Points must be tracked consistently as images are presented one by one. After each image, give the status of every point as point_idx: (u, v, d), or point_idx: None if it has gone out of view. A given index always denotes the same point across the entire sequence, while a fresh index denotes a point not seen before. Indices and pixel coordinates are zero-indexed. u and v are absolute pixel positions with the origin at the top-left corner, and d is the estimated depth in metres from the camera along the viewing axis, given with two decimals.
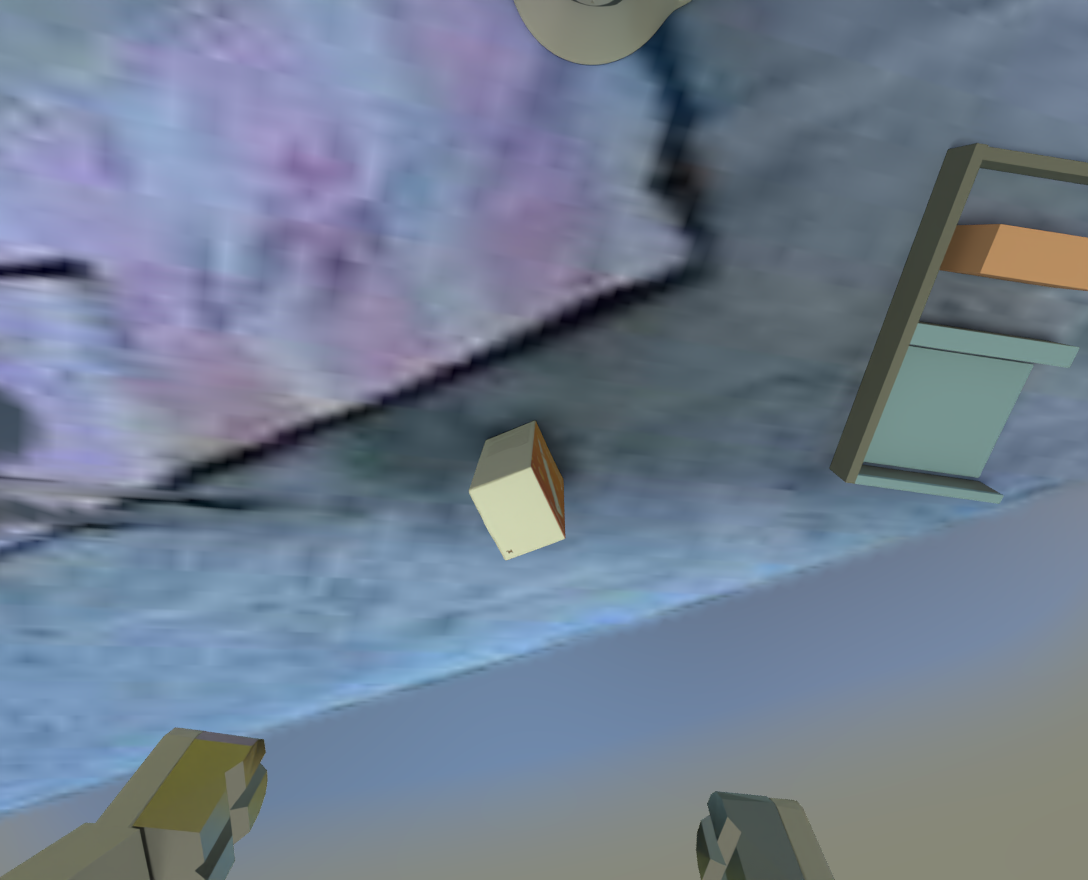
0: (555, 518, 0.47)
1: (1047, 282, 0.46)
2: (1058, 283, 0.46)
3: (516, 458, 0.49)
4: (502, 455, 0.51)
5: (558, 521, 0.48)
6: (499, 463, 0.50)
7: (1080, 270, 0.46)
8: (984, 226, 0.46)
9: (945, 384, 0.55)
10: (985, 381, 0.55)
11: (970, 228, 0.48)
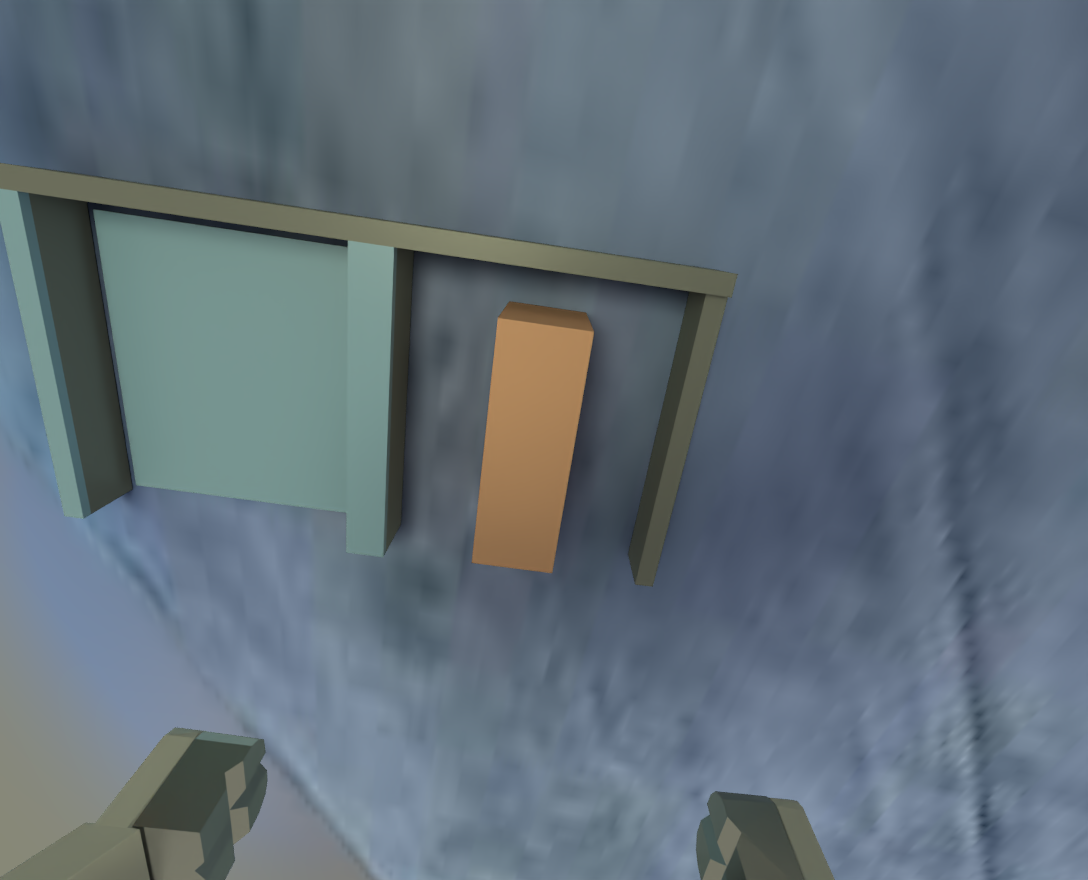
0: None
1: (485, 454, 0.24)
2: (484, 473, 0.24)
3: None
4: None
5: None
6: None
7: (509, 502, 0.25)
8: (587, 325, 0.23)
9: (298, 376, 0.28)
10: (316, 445, 0.30)
11: (582, 319, 0.25)
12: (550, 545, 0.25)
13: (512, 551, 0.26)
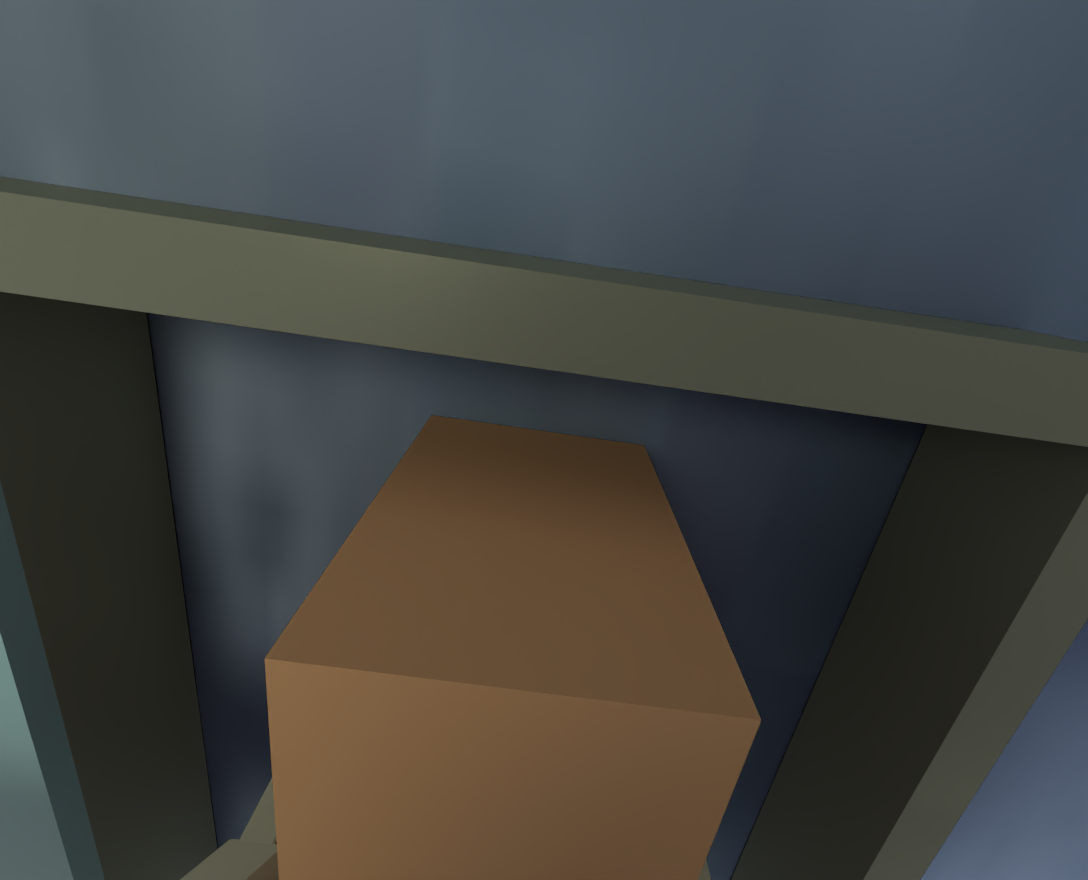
0: None
1: None
2: None
3: None
4: None
5: None
6: None
7: None
8: (690, 586, 0.06)
9: None
10: None
11: (653, 514, 0.07)
12: None
13: None
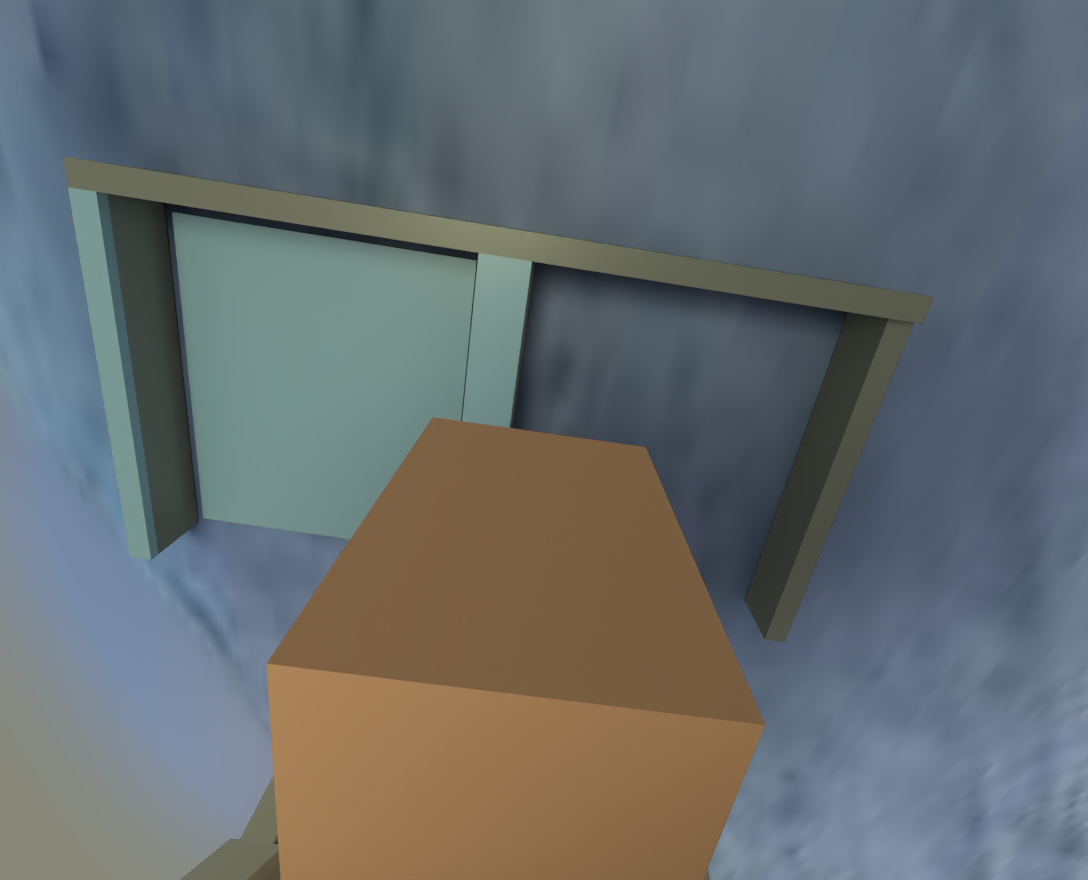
0: None
1: None
2: None
3: None
4: None
5: None
6: None
7: None
8: (692, 589, 0.06)
9: (392, 402, 0.25)
10: None
11: (655, 517, 0.07)
12: None
13: None
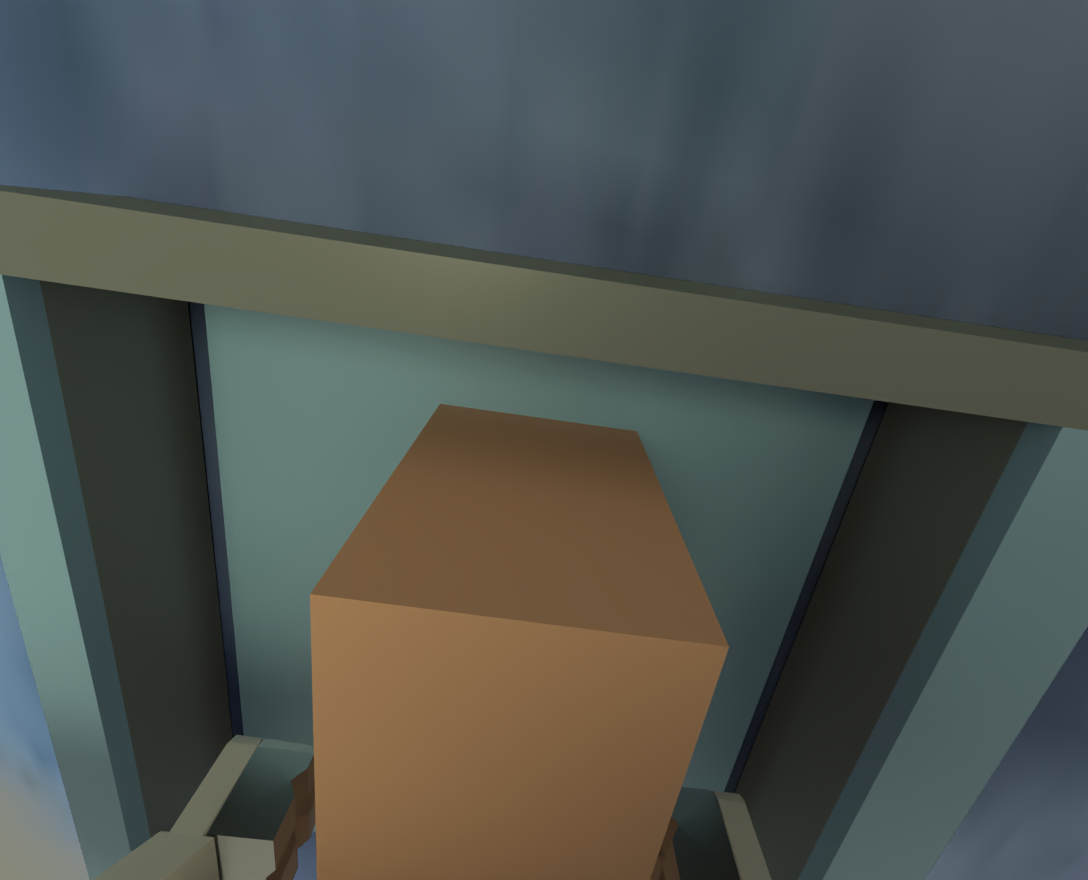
0: None
1: None
2: None
3: None
4: None
5: None
6: None
7: None
8: (674, 547, 0.07)
9: None
10: None
11: (643, 489, 0.08)
12: None
13: None
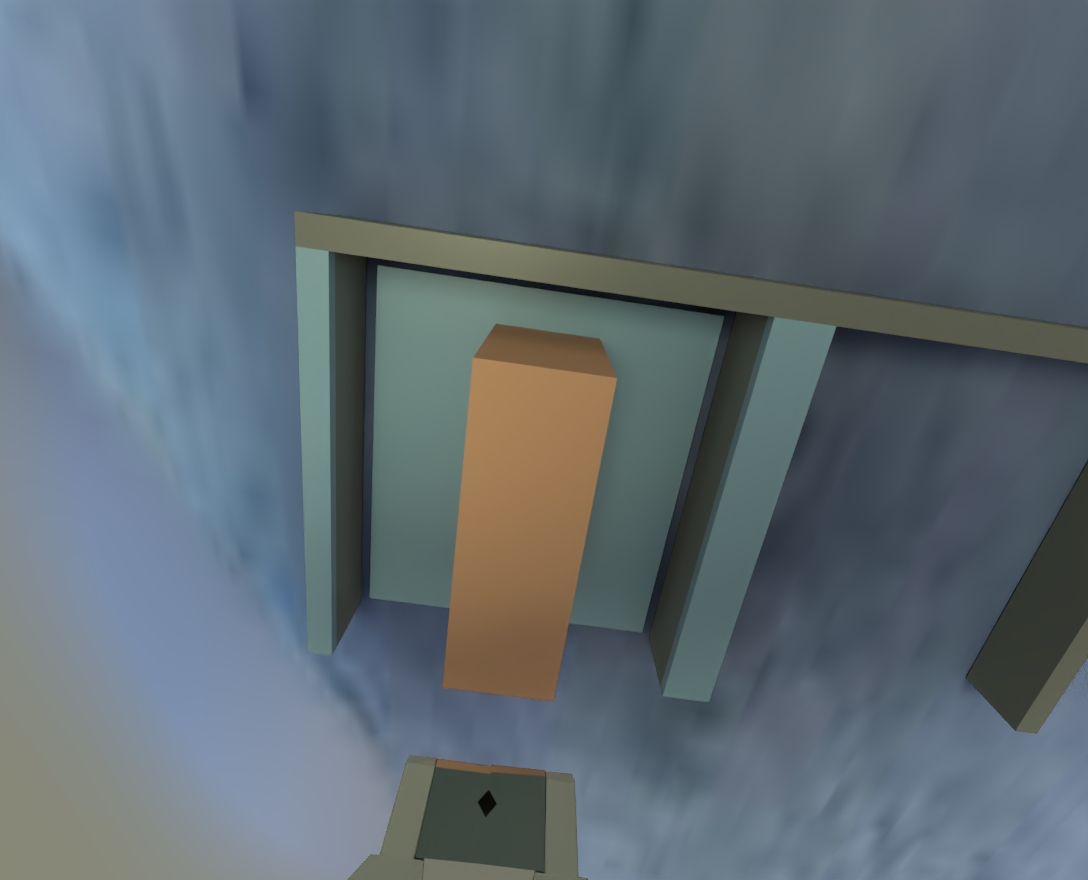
0: None
1: (458, 547, 0.17)
2: (457, 573, 0.17)
3: None
4: None
5: None
6: None
7: (493, 611, 0.17)
8: (605, 363, 0.16)
9: (603, 472, 0.22)
10: (608, 554, 0.24)
11: (597, 352, 0.18)
12: (551, 666, 0.18)
13: (498, 673, 0.18)
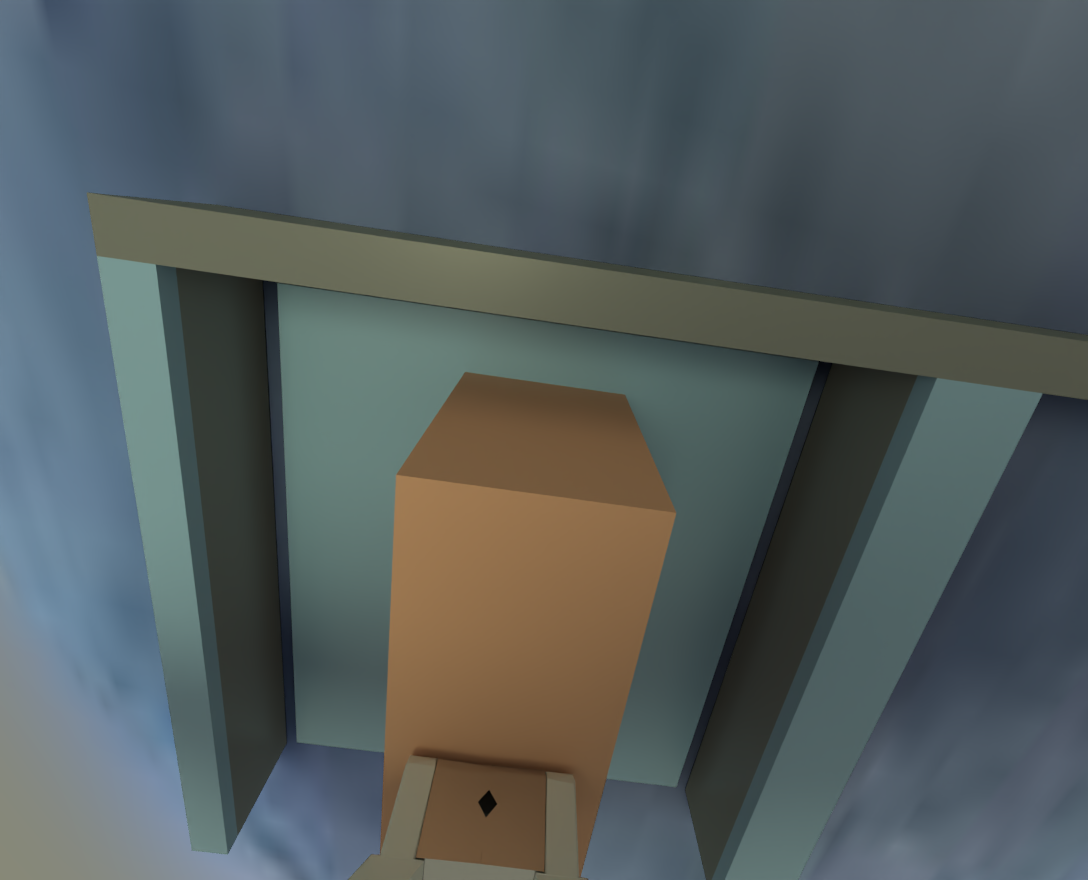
0: None
1: (388, 776, 0.10)
2: (389, 812, 0.10)
3: None
4: None
5: None
6: None
7: None
8: (645, 463, 0.09)
9: None
10: (631, 689, 0.17)
11: (626, 430, 0.11)
12: None
13: None
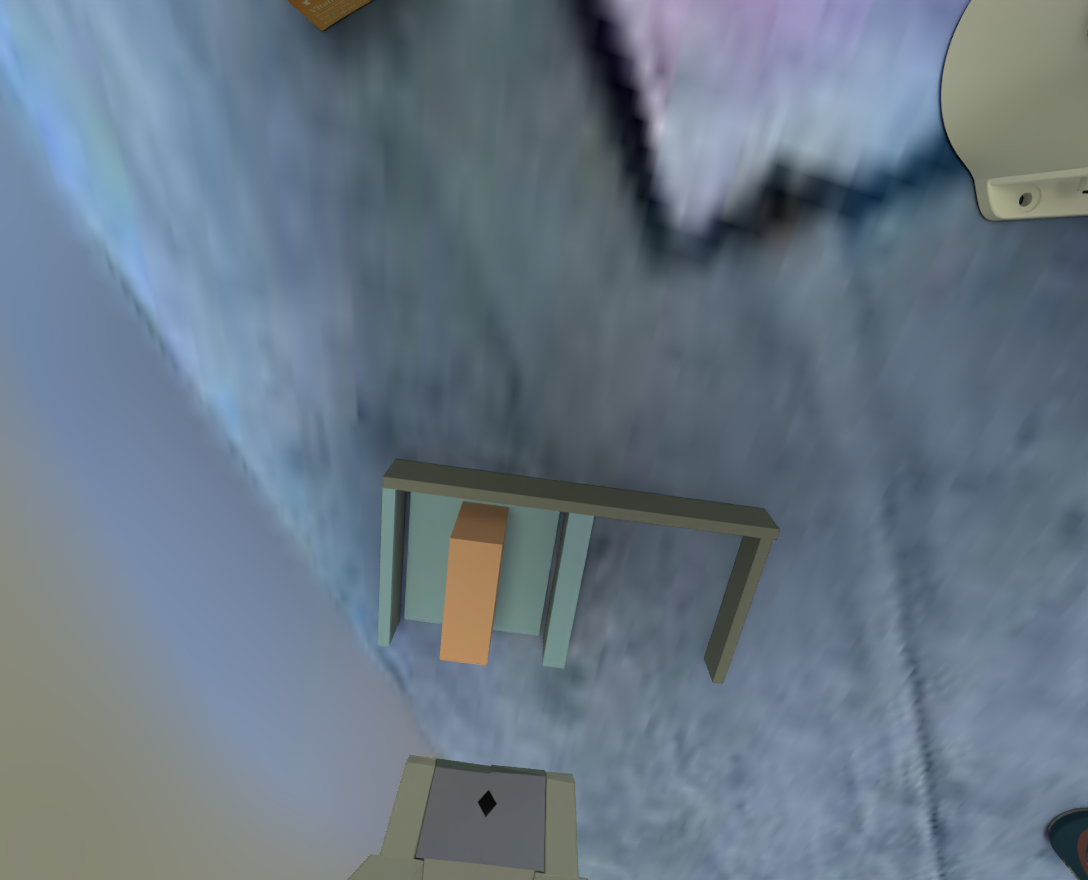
0: None
1: (445, 603, 0.42)
2: (445, 613, 0.43)
3: None
4: None
5: None
6: None
7: (460, 627, 0.43)
8: (502, 532, 0.42)
9: (514, 561, 0.48)
10: (519, 598, 0.49)
11: (502, 522, 0.43)
12: (484, 650, 0.44)
13: (463, 653, 0.44)
